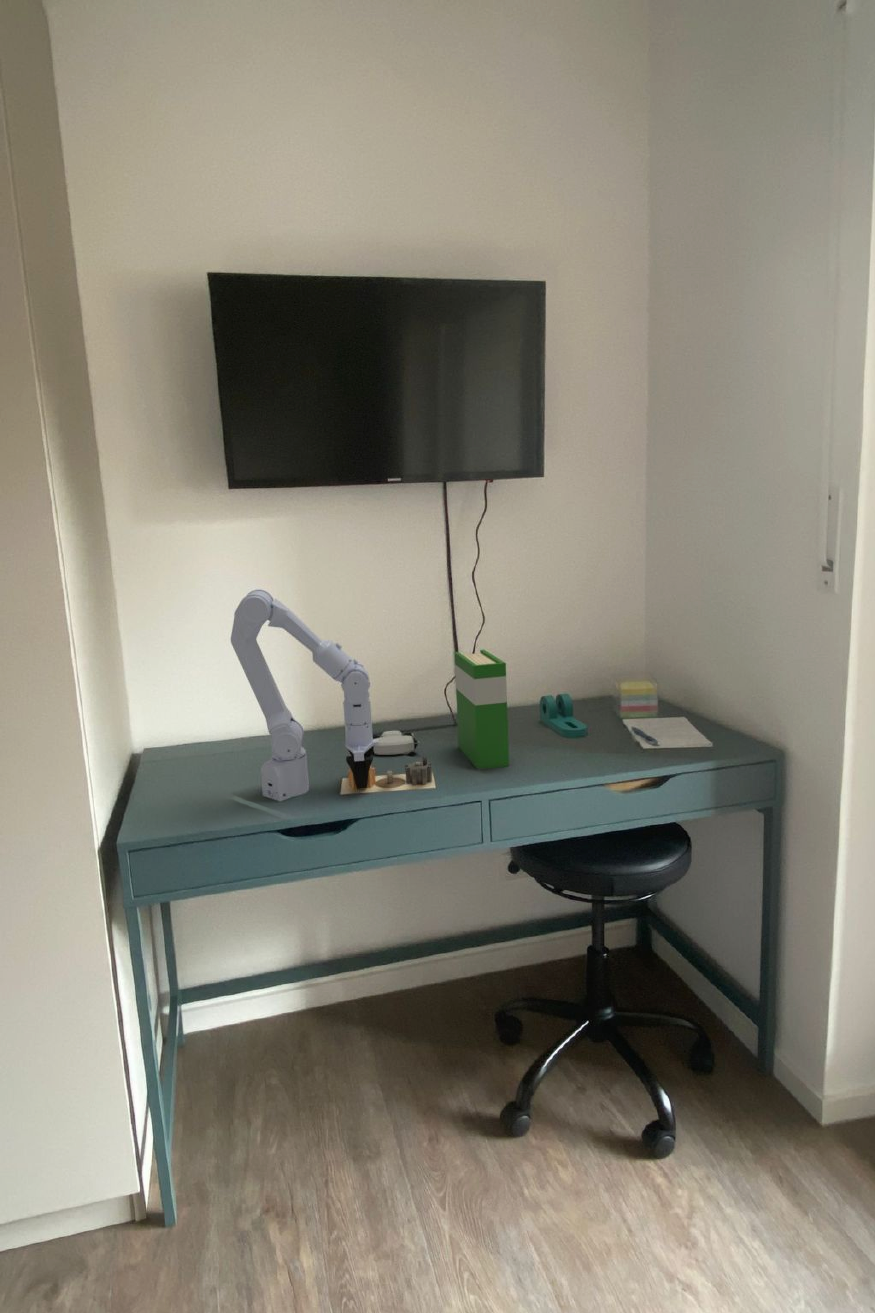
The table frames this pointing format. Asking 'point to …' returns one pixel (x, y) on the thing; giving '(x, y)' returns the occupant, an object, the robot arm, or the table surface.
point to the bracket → (561, 716)
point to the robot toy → (394, 743)
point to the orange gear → (370, 778)
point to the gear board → (398, 780)
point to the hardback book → (482, 709)
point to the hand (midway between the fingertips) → (362, 782)
